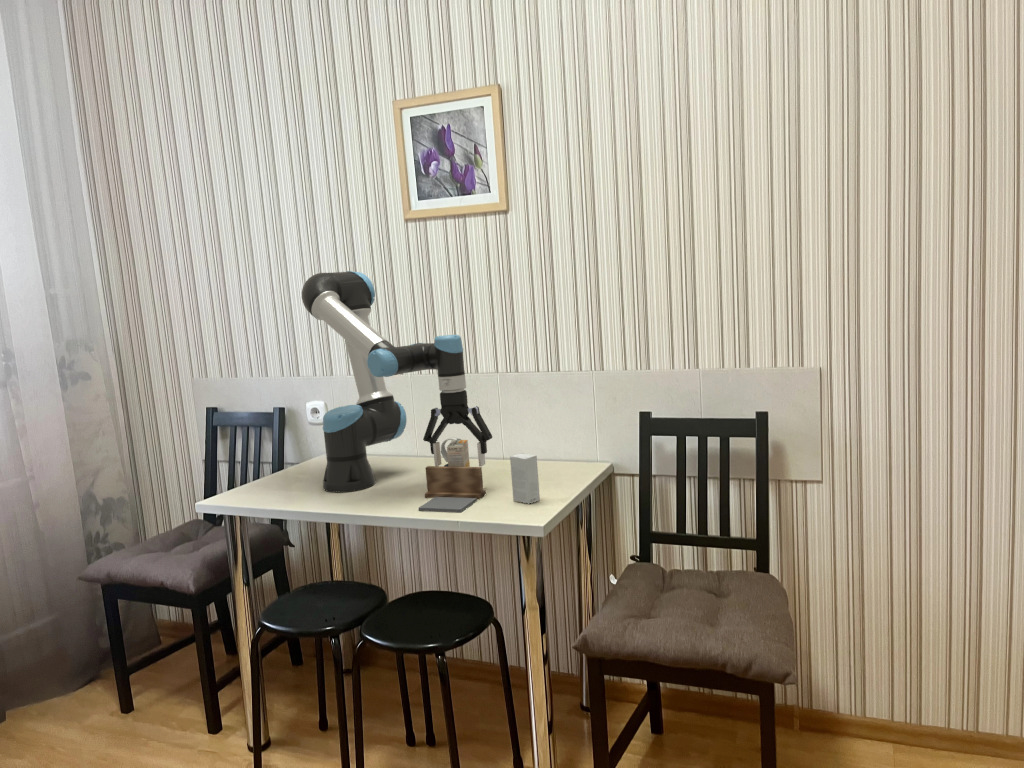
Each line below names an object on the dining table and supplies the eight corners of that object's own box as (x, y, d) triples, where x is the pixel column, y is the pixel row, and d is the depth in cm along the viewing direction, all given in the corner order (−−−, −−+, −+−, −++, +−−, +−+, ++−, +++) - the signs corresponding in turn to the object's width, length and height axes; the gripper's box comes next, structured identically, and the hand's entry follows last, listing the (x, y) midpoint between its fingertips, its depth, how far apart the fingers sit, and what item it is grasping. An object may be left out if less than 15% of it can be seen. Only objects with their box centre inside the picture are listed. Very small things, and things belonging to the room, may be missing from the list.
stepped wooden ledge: (425, 497, 209) (422, 469, 208) (433, 492, 213) (430, 464, 212) (479, 499, 203) (476, 470, 202) (486, 494, 208) (483, 465, 207)
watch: (463, 476, 230) (460, 440, 229) (439, 475, 233) (436, 439, 232) (471, 471, 235) (468, 436, 234) (448, 470, 238) (445, 436, 237)
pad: (418, 510, 197) (418, 507, 197) (435, 499, 206) (435, 496, 206) (461, 512, 192) (460, 509, 192) (476, 501, 202) (476, 498, 202)
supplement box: (455, 484, 221) (451, 440, 219) (471, 483, 220) (468, 439, 218) (449, 492, 213) (445, 446, 211) (466, 491, 212) (463, 445, 210)
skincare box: (540, 500, 198) (537, 455, 196) (529, 504, 195) (525, 458, 193) (524, 497, 202) (520, 452, 201) (512, 501, 199) (509, 456, 198)
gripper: (406, 394, 214) (414, 468, 216) (489, 390, 205) (496, 468, 207) (419, 390, 221) (426, 462, 223) (499, 387, 212) (506, 462, 214)
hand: (460, 465), depth 215 cm, fingers open, 13 cm apart
